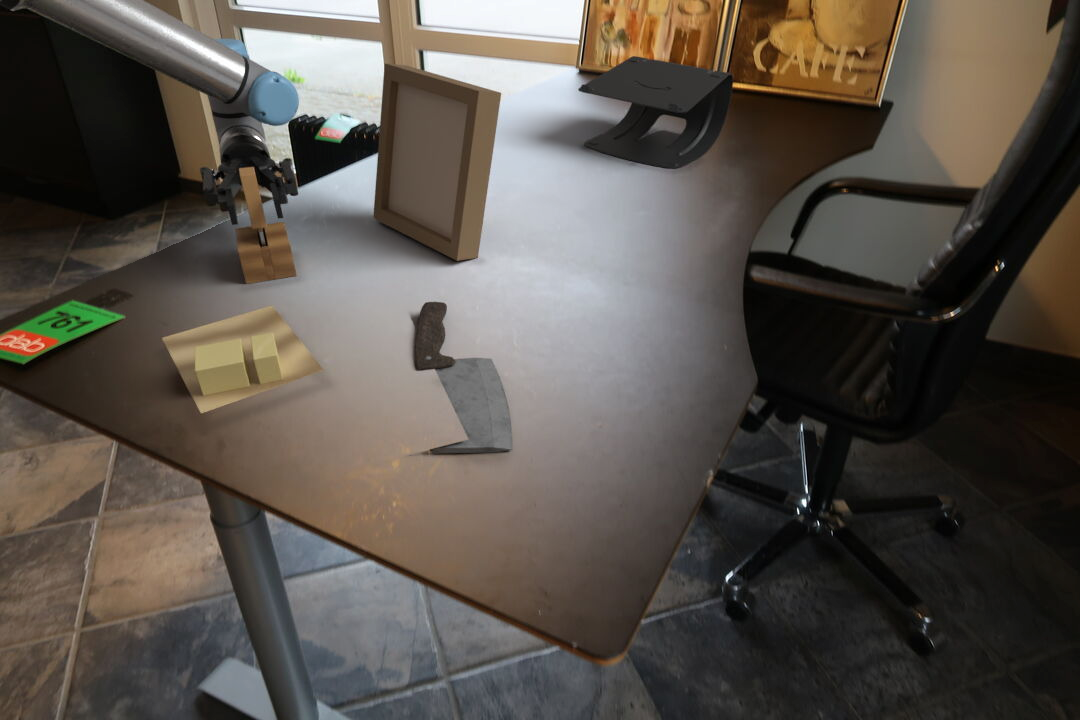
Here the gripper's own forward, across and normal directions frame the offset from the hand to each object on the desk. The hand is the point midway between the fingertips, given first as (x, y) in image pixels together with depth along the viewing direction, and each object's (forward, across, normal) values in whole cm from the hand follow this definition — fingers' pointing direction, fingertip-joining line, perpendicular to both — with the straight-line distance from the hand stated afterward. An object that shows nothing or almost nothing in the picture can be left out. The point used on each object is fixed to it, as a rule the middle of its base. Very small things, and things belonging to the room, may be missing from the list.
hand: (255, 212), depth 96 cm
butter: (+25, +7, -10) cm, 27 cm away
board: (+20, +5, -11) cm, 23 cm away
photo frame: (-8, -29, -11) cm, 32 cm away
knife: (-5, 0, -11) cm, 12 cm away
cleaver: (+31, -18, -11) cm, 38 cm away
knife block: (-5, 0, -11) cm, 12 cm away
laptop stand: (-35, -83, -11) cm, 91 cm away
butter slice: (+25, +2, -10) cm, 26 cm away
